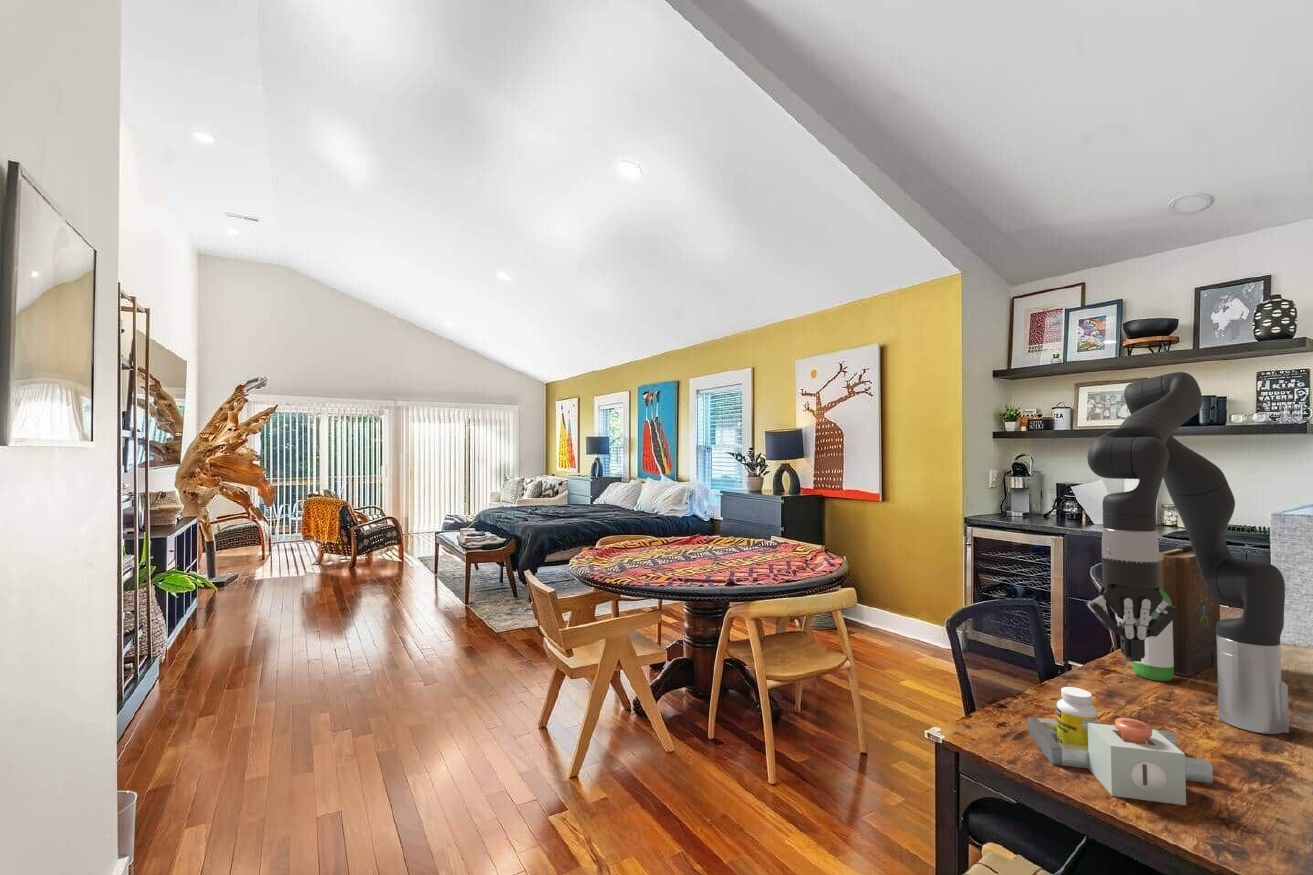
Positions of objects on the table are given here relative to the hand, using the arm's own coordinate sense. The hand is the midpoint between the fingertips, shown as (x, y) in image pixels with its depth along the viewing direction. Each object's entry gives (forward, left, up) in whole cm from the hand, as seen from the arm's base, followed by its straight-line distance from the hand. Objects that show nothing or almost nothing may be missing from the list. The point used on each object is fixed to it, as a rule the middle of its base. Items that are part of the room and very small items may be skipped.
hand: (1132, 659), depth 98 cm
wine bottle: (-29, -57, -21) cm, 67 cm away
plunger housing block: (0, 0, -21) cm, 21 cm away
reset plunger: (0, 0, -14) cm, 14 cm away
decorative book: (-42, -68, -21) cm, 82 cm away
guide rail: (-2, -10, -21) cm, 23 cm away
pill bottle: (+5, -10, -21) cm, 24 cm away
